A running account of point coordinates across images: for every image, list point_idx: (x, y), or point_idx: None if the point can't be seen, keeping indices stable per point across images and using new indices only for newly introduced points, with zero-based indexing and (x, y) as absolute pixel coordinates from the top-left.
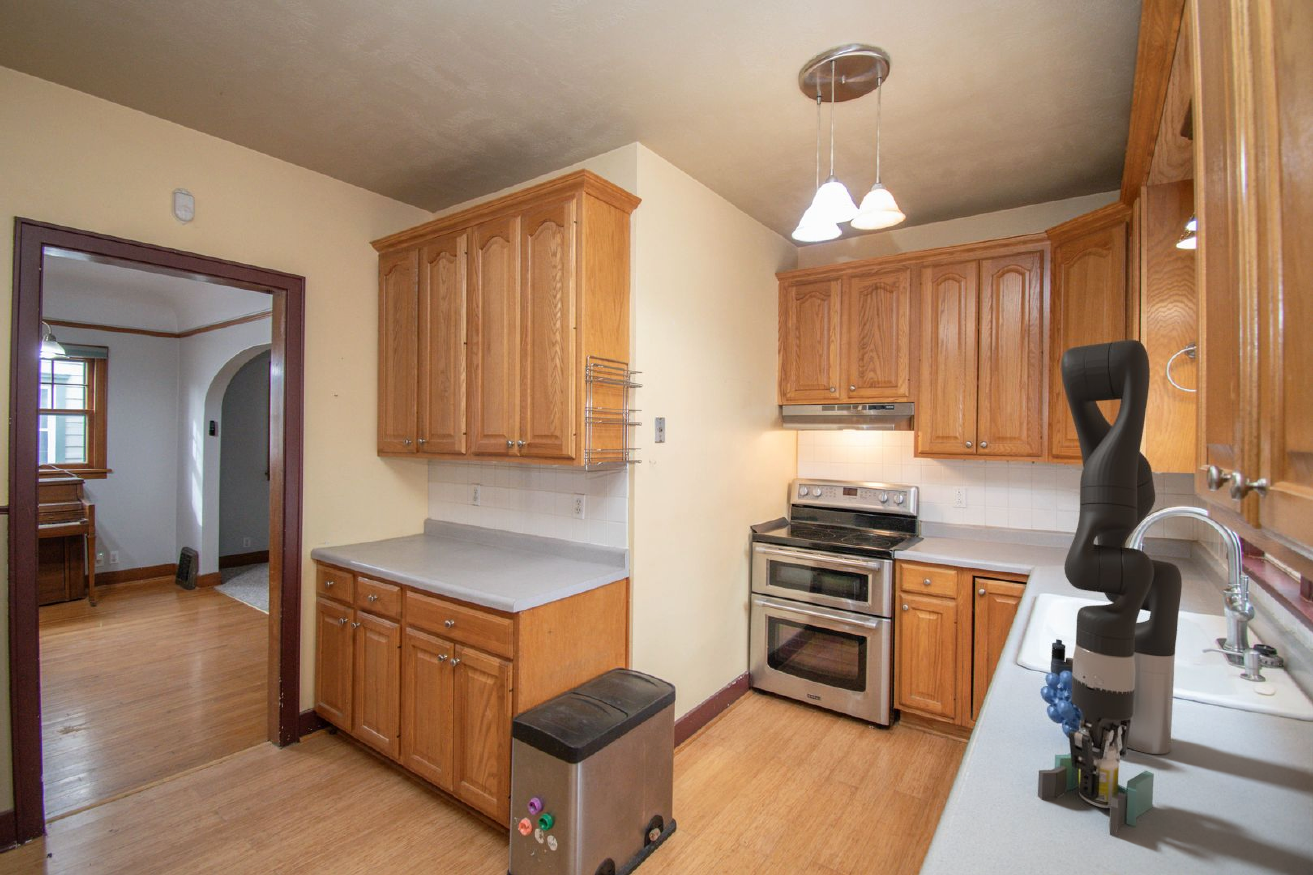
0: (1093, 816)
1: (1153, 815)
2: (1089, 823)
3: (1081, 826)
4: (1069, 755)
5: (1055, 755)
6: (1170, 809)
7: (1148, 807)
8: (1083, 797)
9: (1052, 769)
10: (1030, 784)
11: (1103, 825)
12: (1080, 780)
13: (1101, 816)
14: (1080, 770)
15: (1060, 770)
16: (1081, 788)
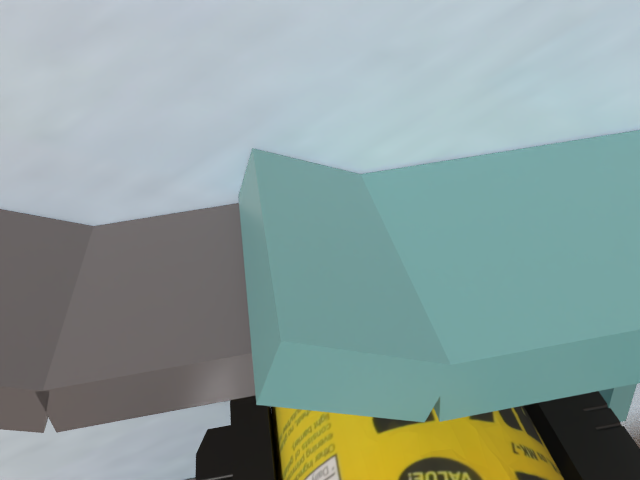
0: (180, 421)
1: None
2: (87, 453)
3: (7, 461)
4: (446, 381)
5: (281, 337)
6: None
7: None
8: None
9: (55, 390)
10: (57, 52)
11: (154, 472)
12: (233, 469)
13: None
14: (315, 475)
15: (136, 416)
16: (196, 459)
